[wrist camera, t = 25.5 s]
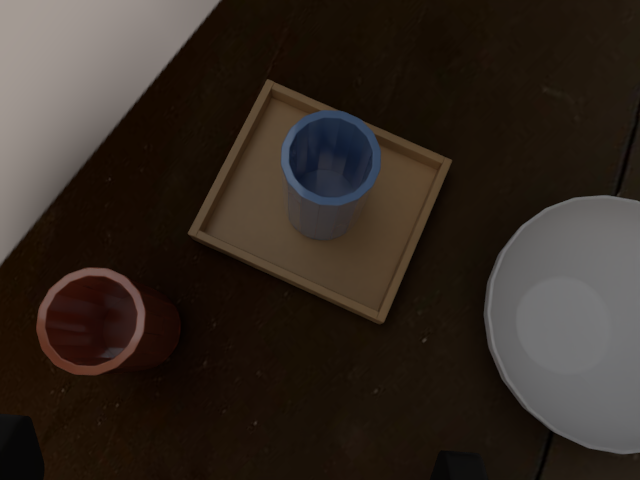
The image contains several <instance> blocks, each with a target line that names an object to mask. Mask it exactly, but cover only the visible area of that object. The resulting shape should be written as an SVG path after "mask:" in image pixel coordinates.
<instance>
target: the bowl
mask: <svg viewBox="0 0 640 480" xmlns="http://www.w3.org/2000/svg"><path fill="white" fill-rule="evenodd" d="M484 320H485V327H486V334H487V341H488V348H489V350H490V352H491V355H492V357H493V360H494V362H495V364H496V367H497V369H498V371H499V374H500V376H501V379H502V380H503V381H504V383H505V384H506V385H507V387H508V388H509V390H510V391H511V392H512V394H513V395H514V396H515V398H516V399H517V400H518V402H519V403H520V404H521V406H522V407H523V408H524V409H525V410H527V411H528V412H529V413H530V414H531V415H533V416H534V417H535V418H536V419H537V420H539V421H540V422H541V423H542V424H543V425H545V426H546V427H547V428H548V429H550V430H551V431H553V432H555V433H556V434H559V435H561V436H563V437H565V438H567V439H569V440H572V441H574V442H576V443H578V444H580V445H582V446H584V447H587V448H590V449H595V450H601V451H607V452H612V453H618V454H630V453H640V202H639V201H636V200H630V199H624V198H619V197H613V196H608V195H602V196H589V197H575V198H572V199H569V200H567V201H564V202H561V203H558V204H556V205H553V206H550V207H547V208H545V209H544V210H543V211H541V212H540V213H538V214H537V215H536V216H534V217H533V218H532V219H530V220H529V221H527V222H526V223H525V224H523V225H522V226H521V227H520V228H519V229H518V230H517V231H516V232H515V233H514V235H513V236H512V237H511V239H510V240H509V241H508V242H507V244H506V245H505V246H504V248H503V249H502V250H501V251H500V253H499V254H498V256H497V259H496V262H495V264H494V267H493V269H492V272H491V274H490V277H489V279H488V282H487V289H486V298H485V307H484Z"/></svg>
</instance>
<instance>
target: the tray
mask: <svg viewBox="0 0 640 480" xmlns="http://www.w3.org/2000/svg"><path fill="white" fill-rule="evenodd" d="M321 110H332V111H339V110H336V109H334V108H332V107H330V106H327V105H325V104H323V103H320V102H318V101H316V100H314V99H311V98H309V97H307V96H304V95H302V94H300V93H298V92H295V91H293V90H291V89H288V88H286V87H284V86H282V85H279V84H277V83H274V82H273V81H271V80H268V79H267V81H266V83H265V85H264V87H263V89H262V91H261V92H260V94H259V96H258V98H257V100H256V102H255V104H254V106H253V108H252V110H251V112H250V114H249V116H248V118H247V120H246V122H245V124H244V125H243V127H242V129H241V131H240V133H239V135H238V137H237V139H236V141H235V143H234V145H233V147H232V149H231V151H230V153H229V155H228V157H227V158H226V160H225V162H224V164H223V166H222V168H221V170H220V172H219V174H218V176H217V178H216V180H215V182H214V184H213V186H212V188H211V189H210V191H209V193H208V195H207V197H206V199H205V201H204V203H203V205H202V207H201V209H200V211H199V213H198V215H197V217H196V219H195V221H194V222H193V224H192V226H191V228H190V230H189V232H188V235H189V236H190V237H191V238H192V239H193V240H195V241H197V242H199V243H201V244H204V245H206V246H208V247H210V248H212V249H215V250H217V251H219V252H221V253H223V254H226V255H228V256H230V257H232V258H234V259H237V260H239V261H241V262H243V263H245V264H248V265H250V266H252V267H254V268H256V269H259V270H261V271H263V272H265V273H267V274H270V275H272V276H274V277H276V278H278V279H281V280H283V281H285V282H287V283H289V284H292V285H294V286H296V287H298V288H300V289H303V290H305V291H307V292H309V293H311V294H314V295H316V296H318V297H320V298H322V299H325V300H327V301H329V302H331V303H333V304H336V305H338V306H340V307H342V308H344V309H347V310H349V311H351V312H353V313H355V314H358V315H360V316H362V317H364V318H366V319H369V320H371V321H373V322H375V323H377V324H382V323H384V321H385V319H386V317H387V314H388V312H389V310H390V307H391V305H392V302H393V300H394V298H395V295H396V293H397V291H398V288H399V286H400V283H401V281H402V279H403V276H404V274H405V272H406V269H407V267H408V264H409V262H410V260H411V257H412V255H413V253H414V250H415V248H416V246H417V243H418V241H419V238H420V236H421V234H422V231H423V229H424V227H425V224H426V222H427V219H428V217H429V215H430V212H431V210H432V208H433V205H434V203H435V200H436V198H437V196H438V193H439V191H440V189H441V186H442V184H443V181H444V179H445V177H446V174H447V172H448V170H449V167H450V165H451V162H452V160H451V159H448V158H446V157H444V156H441V155H439V154H437V153H435V152H432V151H430V150H428V149H425V148H423V147H421V146H419V145H416V144H414V143H412V142H409V141H407V140H405V139H403V138H400V137H398V136H396V135H393V134H391V133H389V132H387V131H384V130H382V129H380V128H377V127H375V126H373V125H371V124H368V123H366V122H364V121H363V122H364V123H365V124H366V125H367V126H368V127H369V128H370V129H371V130H372V131H373V133H374V134H375V137H376V139H377V142H378V144H379V146H380V149H381V169H380V172H379V174H378V176H377V178H376V181H375V183H374V185H373V187H372V190H371V192H370V194H369V196H368V198H367V200H366V203H365V205H364V207H363V209H362V211H361V213H360V216H359V218H358V220H357V222H356V224H355V225H354V226H353V227H352V228H351V229H350V230H349V231H348V232H347V233H345V234H344V235H342V236H340V237H338V238H335V239H331V240H315V239H311V238H309V237H306V236H304V235H302V234H301V233H300V232H298V231H297V230H296V229H295V228H294V227H293V226H292V224H291V223H290V221H289V220H288V217H287V215H286V212H285V208H284V202H283V188H282V174H281V147H282V144H283V142H284V140H285V138H286V136H287V133H288V131H289V129H290V128H291V127H292V126H294V125H295V124H296V123H297V122H298V121H299V120H301V119H302V118H303V117H305V116H306V115H309V114H312V113H315V112H318V111H321Z"/></svg>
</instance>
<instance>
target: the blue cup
mask: <svg viewBox="0 0 640 480" xmlns="http://www.w3.org/2000/svg"><path fill="white" fill-rule="evenodd" d="M380 169H381V149H380V146H379V144H378V142H377V139H376V137H375V134H374V133H373V131H372V130H371V129H370V128H369V127H368V126H367V125H366V124H365V123H364V122H363V121H362V120H361V119H359V118H357V117H355V116H353V115H350V114H348V113H346V112H343V111H332V110H321V111H318V112H315V113H312V114H309V115H306V116H305V117H303V118H302V119H301V120H299V121H298V122H297V123H296V124H295V125H294V126H292V127H291V128H290V129H289V131H288V133H287V136H286V138H285V140H284V142H283V144H282V147H281V174H282V188H283V202H284V208H285V212H286V215H287V217H288V220H289V221H290V223H291V224H292V226H293V227H294V228H295V229H296V230H297V231H298V232H300V233H301V234H302V235H304V236H306V237H309V238H311V239H315V240H331V239H335V238H338V237H340V236H342V235H344V234H345V233H347V232H348V231H349V230H350V229H351V228H352V227H353V226H354V225H355V224H356V222H357V220H358V218H359V216H360V213H361V211H362V209H363V207H364V205H365V203H366V200H367V198H368V196H369V194H370V192H371V190H372V187H373V185H374V183H375V181H376V178H377V176H378V174H379V172H380Z"/></svg>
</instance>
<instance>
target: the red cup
mask: <svg viewBox="0 0 640 480" xmlns="http://www.w3.org/2000/svg"><path fill="white" fill-rule="evenodd" d="M36 329H37V330H36V331H37V334H38V338H39V341H40V345H41V349H42V350H43V352H44V353H45V354H46V355H47V356H48V358H49V359H50V360H51V361H52V362H53V363H54V365H56V366H57V367H59V368H61V369H64V370H66V371H68V372H70V373H72V374H75V375H104V374H114V373H125V372H135V371H144V370H146V369H150V368H153V367H155V366H157V365H159V364H161V363H162V362H164V361H165V360H166V359H167V358H168V357H169V356H170V355H171V354H172V352H173V351H174V350H175V348H176V346H177V344H178V341H179V338H180V334H181V320H180V316H179V313H178V311H177V309H176V307H175V305H174V304H173V303H172V301H171V300H170V299H169V298H168V297H166V296H165V295H164V294H162V293H160V292H158V291H156V290H154V289H152V288H149V287H147V286H145V285H143V284H141V283H139V282H137V281H135V280H133V279H130V278H128V277H126V276H124V275H122V274H120V273H117V272H115V271H113V270H111V269H109V268H90V267H88V268H84V269H81V270H78V271H75V272H72V273H70V274H67V275H65V276H64V277H63V278H62V279H61V280H59V281H58V282H57V283H56V284H55V285H53V286H52V287H51V288H50V289H49V291H48V292H47V294H46V296H45V298H44V300H43V301H42V303H41V305H40V307H39V311H38V318H37V326H36Z"/></svg>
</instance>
